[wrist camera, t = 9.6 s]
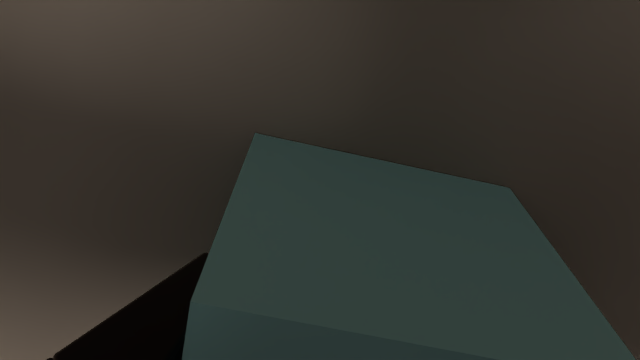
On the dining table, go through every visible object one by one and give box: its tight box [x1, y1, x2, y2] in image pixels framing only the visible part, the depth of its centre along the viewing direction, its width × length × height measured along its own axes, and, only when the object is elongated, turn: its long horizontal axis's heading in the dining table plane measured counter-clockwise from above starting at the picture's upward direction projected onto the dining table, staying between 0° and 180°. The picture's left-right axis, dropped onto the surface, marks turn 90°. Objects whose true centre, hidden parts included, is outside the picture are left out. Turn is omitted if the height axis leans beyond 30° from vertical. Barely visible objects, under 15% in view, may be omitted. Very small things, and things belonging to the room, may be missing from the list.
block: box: [182, 133, 636, 360], centre depth 8 cm, size 4×4×4 cm
